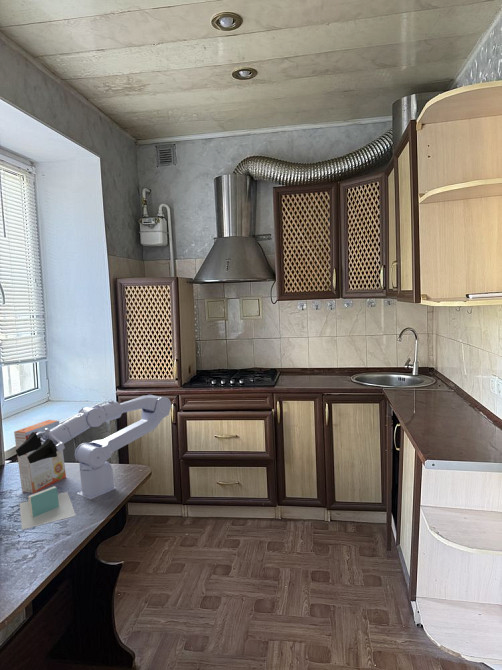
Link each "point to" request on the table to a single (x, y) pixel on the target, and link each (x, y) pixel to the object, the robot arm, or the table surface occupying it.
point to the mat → (50, 516)
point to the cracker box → (42, 470)
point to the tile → (43, 501)
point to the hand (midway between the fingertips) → (22, 456)
